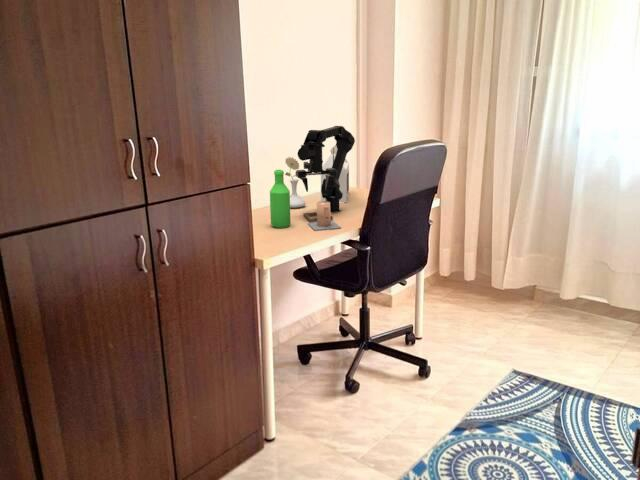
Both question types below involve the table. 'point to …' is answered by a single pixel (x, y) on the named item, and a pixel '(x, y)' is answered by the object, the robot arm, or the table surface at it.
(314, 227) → the pad
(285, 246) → the table surface
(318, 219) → the jug
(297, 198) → the flower in vase
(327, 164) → the gable box
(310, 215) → the holder
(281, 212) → the bottle
